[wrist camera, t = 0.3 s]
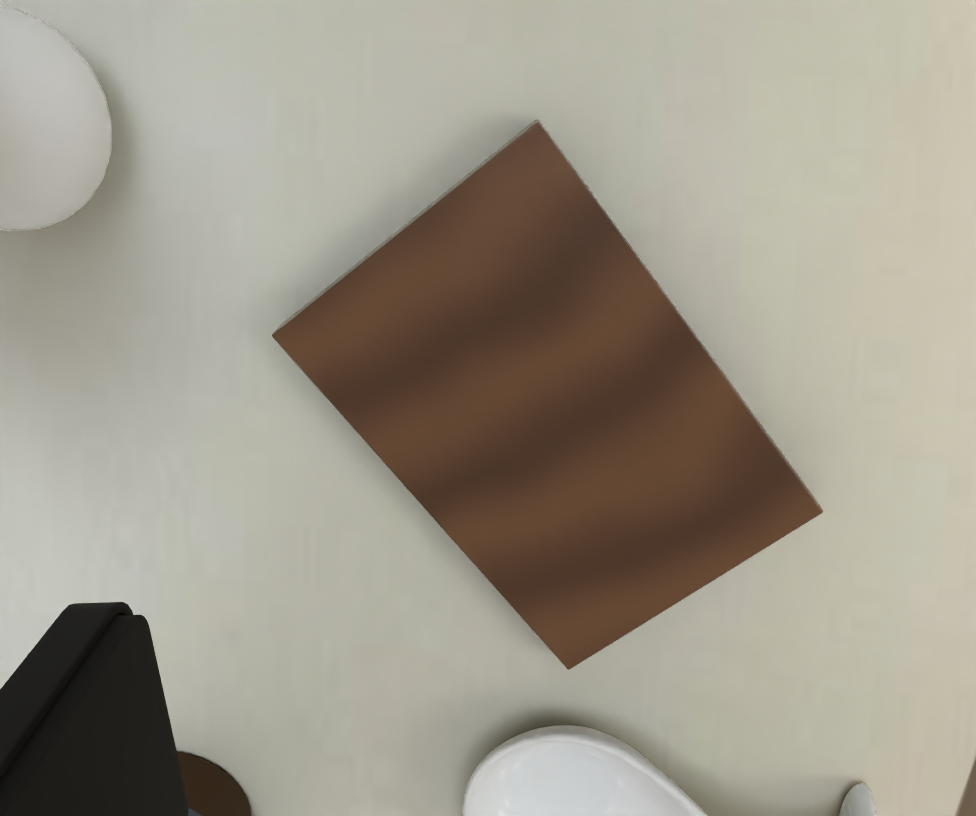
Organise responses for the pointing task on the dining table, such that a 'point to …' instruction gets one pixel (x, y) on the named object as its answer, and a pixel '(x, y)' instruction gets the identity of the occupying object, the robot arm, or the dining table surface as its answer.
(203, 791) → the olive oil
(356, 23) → the dining table surface
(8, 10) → the flower vase
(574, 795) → the spoon rest
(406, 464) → the walnut board
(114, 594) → the dining table surface
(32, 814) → the robot arm
